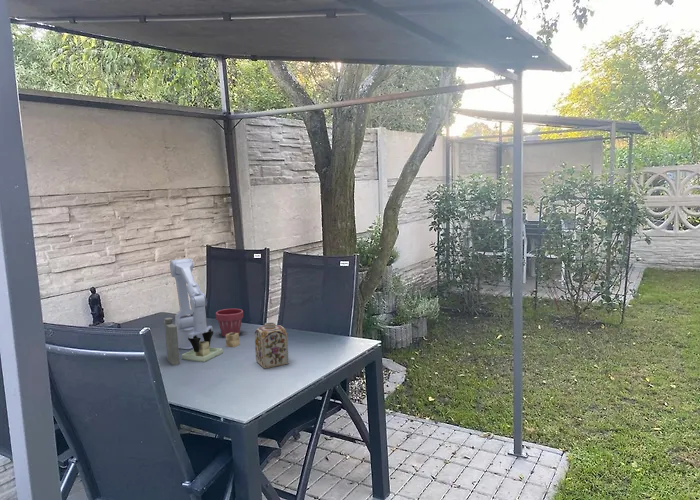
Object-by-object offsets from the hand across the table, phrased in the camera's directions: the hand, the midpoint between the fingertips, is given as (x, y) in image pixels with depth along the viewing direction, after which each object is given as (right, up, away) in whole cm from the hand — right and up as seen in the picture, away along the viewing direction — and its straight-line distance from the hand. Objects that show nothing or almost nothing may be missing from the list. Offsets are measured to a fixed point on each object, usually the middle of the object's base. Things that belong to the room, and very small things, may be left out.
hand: (202, 349), depth 242 cm
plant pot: (+6, +1, +35) cm, 35 cm away
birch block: (0, -3, 0) cm, 3 cm away
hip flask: (-12, -5, -4) cm, 14 cm away
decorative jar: (+35, -4, -13) cm, 37 cm away
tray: (0, -3, 0) cm, 3 cm away
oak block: (+11, -1, +15) cm, 19 cm away
